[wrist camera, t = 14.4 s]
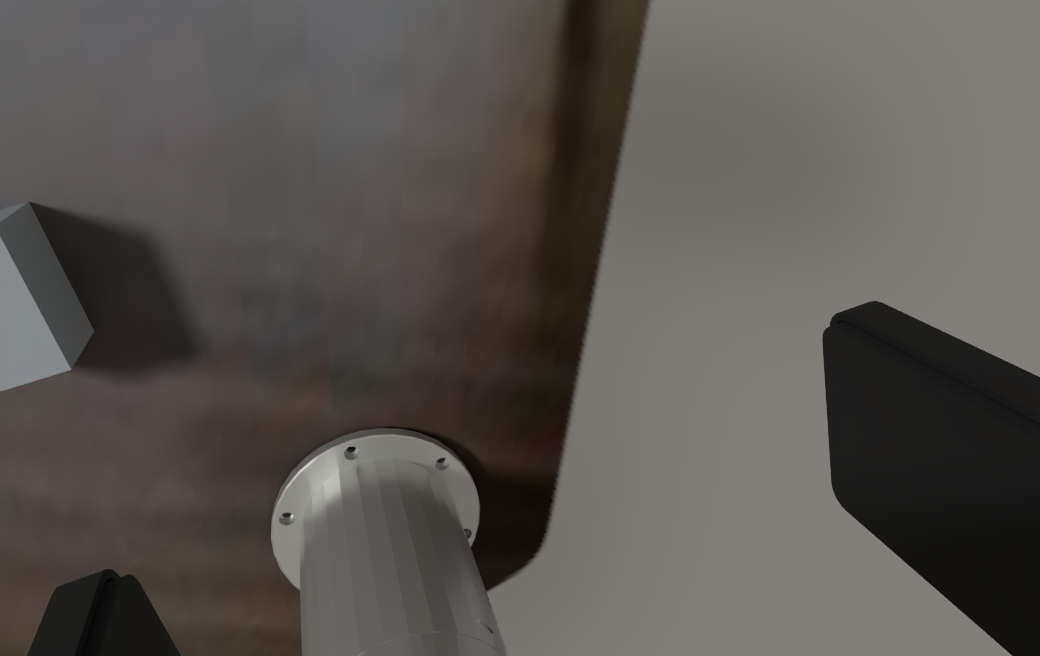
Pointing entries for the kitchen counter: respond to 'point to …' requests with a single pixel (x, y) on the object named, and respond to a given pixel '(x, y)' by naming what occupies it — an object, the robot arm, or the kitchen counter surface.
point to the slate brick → (35, 304)
